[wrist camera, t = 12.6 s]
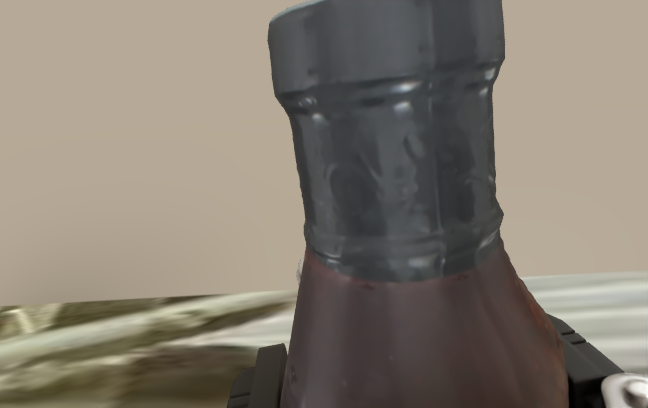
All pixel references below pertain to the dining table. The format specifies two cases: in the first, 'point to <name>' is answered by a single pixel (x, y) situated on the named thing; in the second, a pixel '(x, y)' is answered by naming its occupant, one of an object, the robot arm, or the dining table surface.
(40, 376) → the dining table surface
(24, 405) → the dining table surface
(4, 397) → the dining table surface
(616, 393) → the robot arm
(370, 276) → the sauce bottle
